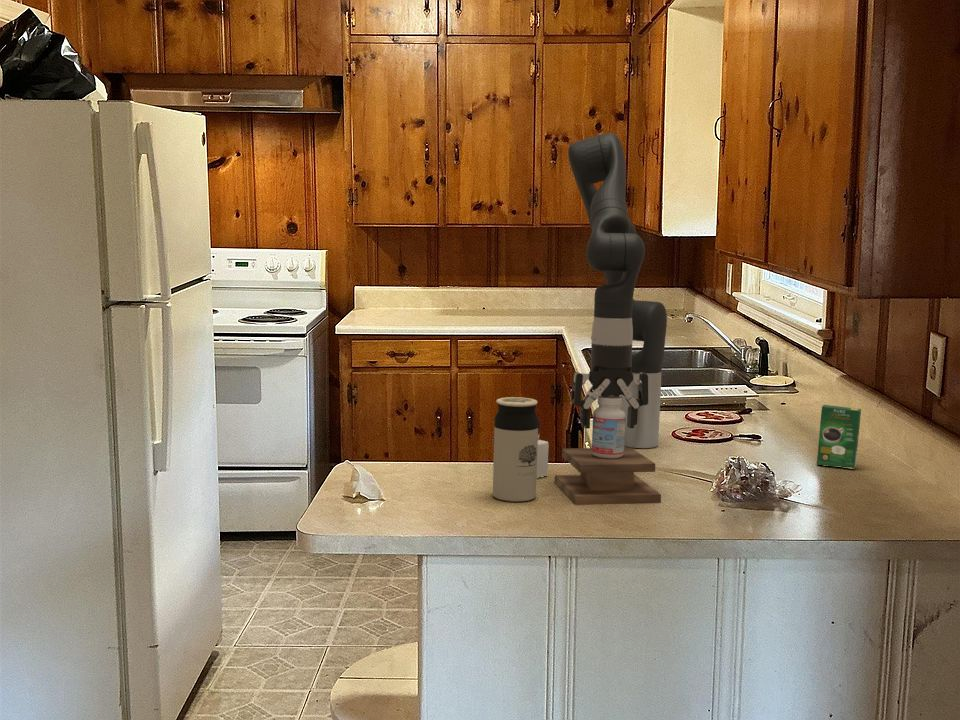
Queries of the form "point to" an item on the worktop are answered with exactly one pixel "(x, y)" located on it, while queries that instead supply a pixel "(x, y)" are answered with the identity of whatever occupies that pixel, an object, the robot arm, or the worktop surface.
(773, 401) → the worktop surface
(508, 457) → the travel mug
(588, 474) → the walnut stand
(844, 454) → the coffee box
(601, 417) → the pill bottle
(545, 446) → the medicine bottle
